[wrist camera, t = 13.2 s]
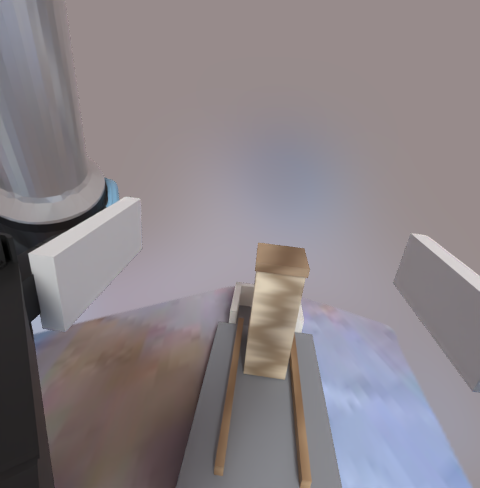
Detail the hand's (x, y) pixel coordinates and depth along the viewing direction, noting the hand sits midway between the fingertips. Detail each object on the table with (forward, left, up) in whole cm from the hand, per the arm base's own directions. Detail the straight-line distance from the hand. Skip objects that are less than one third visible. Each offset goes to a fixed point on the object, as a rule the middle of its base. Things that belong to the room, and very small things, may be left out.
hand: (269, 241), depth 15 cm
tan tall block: (+2, +18, -23) cm, 29 cm away
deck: (+2, +11, -25) cm, 28 cm away
